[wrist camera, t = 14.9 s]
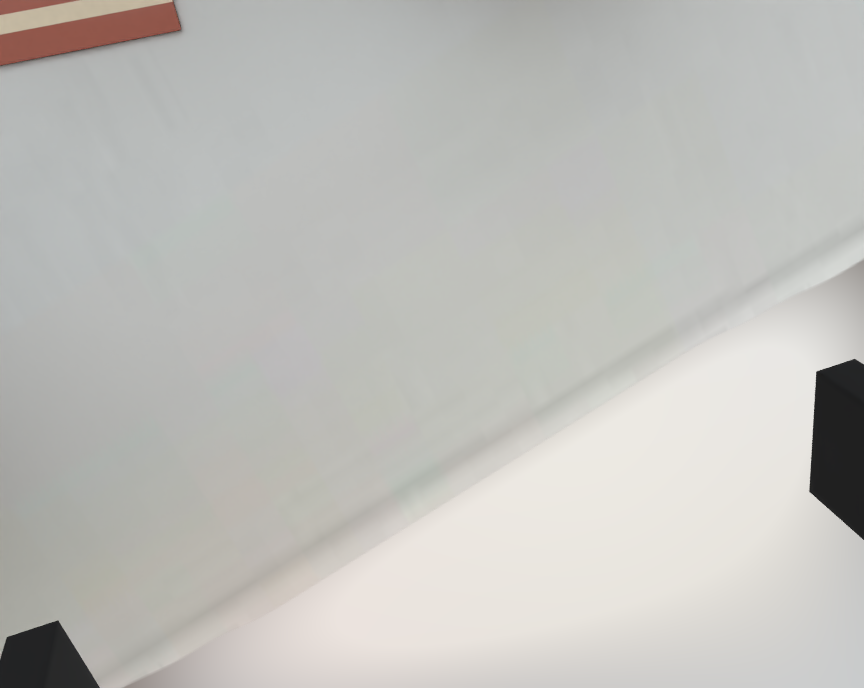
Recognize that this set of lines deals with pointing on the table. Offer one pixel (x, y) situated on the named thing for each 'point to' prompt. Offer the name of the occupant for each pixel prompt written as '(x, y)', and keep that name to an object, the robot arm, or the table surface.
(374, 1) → the table surface
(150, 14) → the napkin
